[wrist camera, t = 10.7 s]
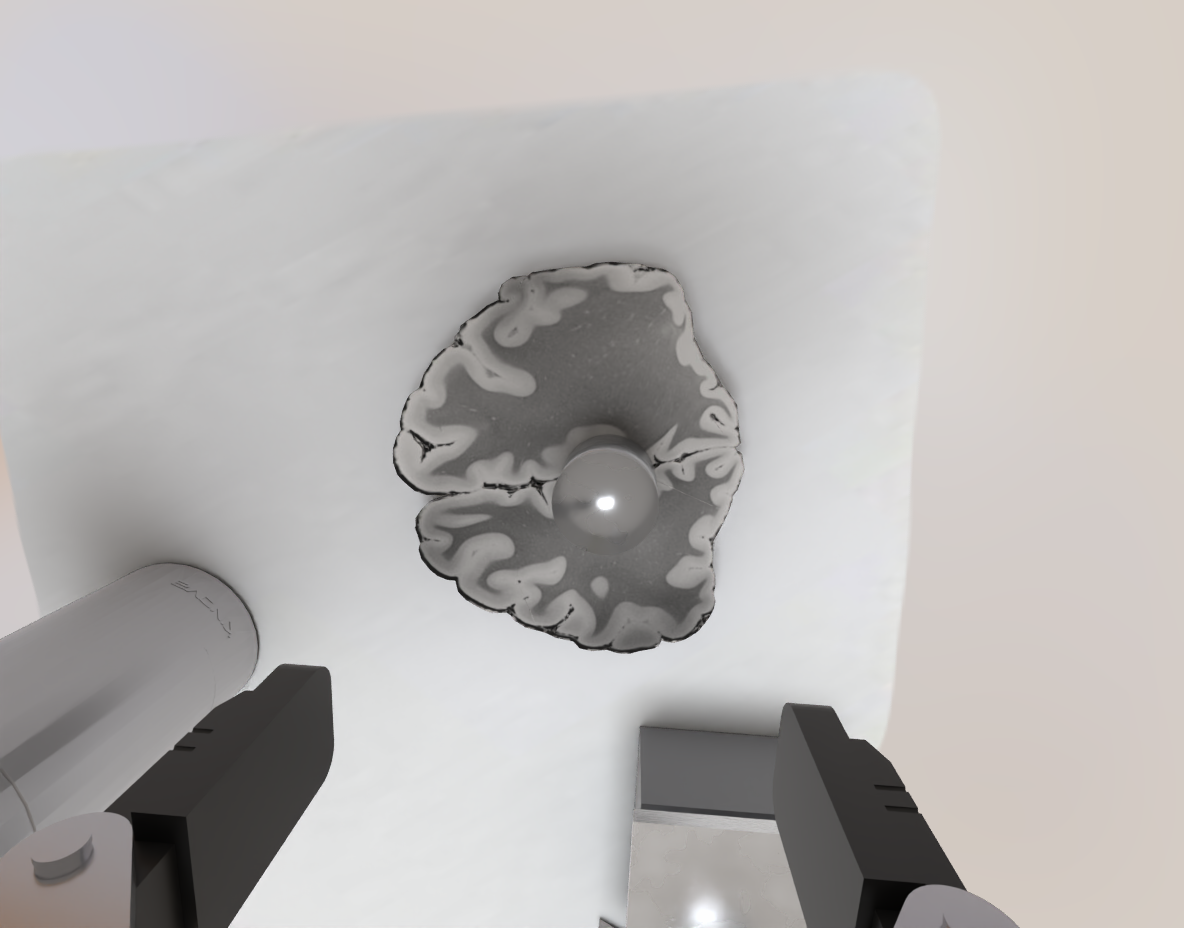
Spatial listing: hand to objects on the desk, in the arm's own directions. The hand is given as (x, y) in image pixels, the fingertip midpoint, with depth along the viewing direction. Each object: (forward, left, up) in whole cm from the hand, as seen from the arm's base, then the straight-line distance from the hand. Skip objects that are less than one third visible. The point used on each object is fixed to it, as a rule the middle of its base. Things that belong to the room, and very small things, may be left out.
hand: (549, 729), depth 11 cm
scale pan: (-11, -21, -16) cm, 28 cm away
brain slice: (-2, +1, -24) cm, 24 cm away
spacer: (0, -1, -20) cm, 20 cm away
